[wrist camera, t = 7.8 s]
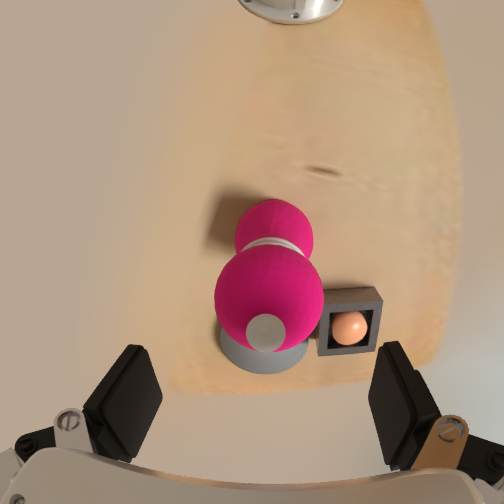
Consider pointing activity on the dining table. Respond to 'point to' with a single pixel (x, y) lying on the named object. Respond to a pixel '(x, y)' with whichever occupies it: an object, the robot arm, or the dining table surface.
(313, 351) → the dining table surface
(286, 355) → the pad
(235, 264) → the pepper mill
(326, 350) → the button housing
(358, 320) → the button
